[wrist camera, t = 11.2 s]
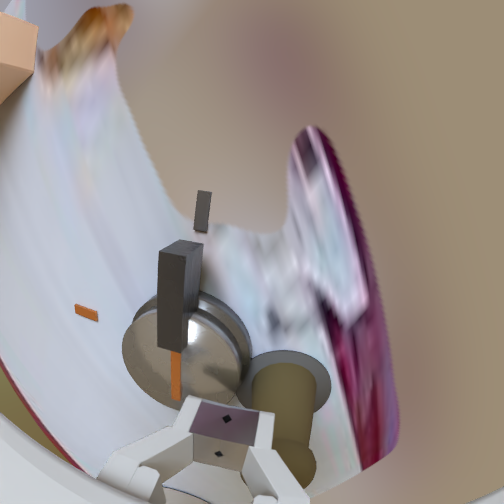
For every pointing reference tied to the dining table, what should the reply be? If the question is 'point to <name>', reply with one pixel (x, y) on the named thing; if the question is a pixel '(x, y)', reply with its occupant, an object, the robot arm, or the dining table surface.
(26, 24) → the soap dispenser
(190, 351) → the saucepan
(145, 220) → the dining table surface
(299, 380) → the cork
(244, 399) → the coaster
